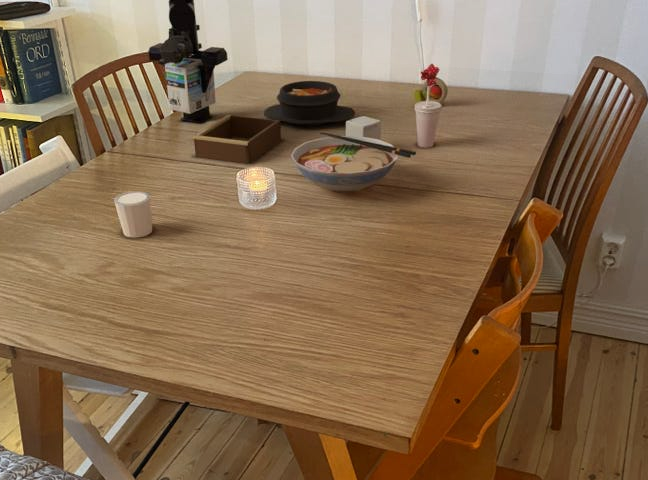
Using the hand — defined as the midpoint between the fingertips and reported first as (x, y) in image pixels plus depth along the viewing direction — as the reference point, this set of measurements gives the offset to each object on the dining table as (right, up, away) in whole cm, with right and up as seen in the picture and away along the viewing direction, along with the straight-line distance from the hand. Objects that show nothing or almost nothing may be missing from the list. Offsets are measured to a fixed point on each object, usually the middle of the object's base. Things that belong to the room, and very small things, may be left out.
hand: (191, 91), depth 179 cm
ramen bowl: (+36, -28, -19) cm, 49 cm away
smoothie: (+57, -13, +1) cm, 59 cm away
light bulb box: (0, -3, +2) cm, 4 cm away
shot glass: (-5, -40, -34) cm, 53 cm away
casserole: (+29, -1, +20) cm, 35 cm away
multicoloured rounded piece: (+63, +6, +27) cm, 69 cm away
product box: (+42, -15, -1) cm, 44 cm away
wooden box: (+11, -13, +3) cm, 17 cm away
